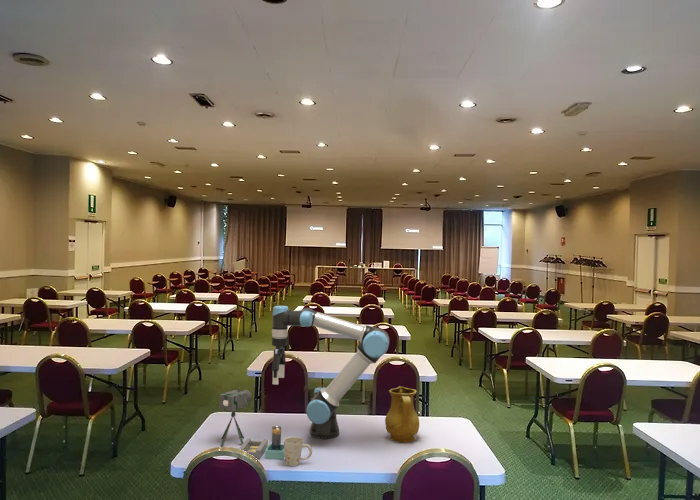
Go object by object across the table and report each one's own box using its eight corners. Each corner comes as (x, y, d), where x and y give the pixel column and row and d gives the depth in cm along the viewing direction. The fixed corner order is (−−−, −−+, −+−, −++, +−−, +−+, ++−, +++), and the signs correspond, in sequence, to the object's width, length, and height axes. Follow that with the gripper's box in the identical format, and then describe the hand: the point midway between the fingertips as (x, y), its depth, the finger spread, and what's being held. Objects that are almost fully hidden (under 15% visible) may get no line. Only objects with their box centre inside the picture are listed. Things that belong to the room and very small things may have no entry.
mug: (283, 459, 213) (284, 436, 213) (312, 459, 214) (312, 436, 214) (282, 467, 205) (283, 443, 205) (312, 467, 206) (312, 443, 206)
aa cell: (281, 452, 219) (282, 424, 219) (279, 456, 215) (280, 427, 215) (272, 452, 219) (273, 424, 220) (270, 455, 215) (271, 427, 216)
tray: (287, 452, 221) (287, 444, 221) (283, 459, 213) (283, 451, 213) (269, 451, 222) (269, 443, 222) (264, 458, 213) (265, 450, 214)
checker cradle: (267, 447, 227) (268, 439, 227) (260, 459, 213) (260, 450, 213) (246, 446, 227) (247, 438, 228) (237, 458, 213) (238, 449, 214)
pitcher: (424, 434, 247) (422, 386, 247) (413, 449, 230) (411, 396, 230) (392, 430, 255) (391, 383, 255) (379, 443, 238) (378, 393, 238)
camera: (233, 450, 222) (234, 395, 223) (209, 443, 230) (211, 390, 231) (256, 440, 236) (258, 388, 236) (233, 433, 244) (235, 383, 244)
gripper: (277, 333, 251) (276, 374, 250) (266, 341, 226) (264, 386, 225) (292, 334, 250) (290, 375, 250) (281, 341, 225) (280, 387, 225)
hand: (278, 380), depth 237 cm, fingers open, 13 cm apart
